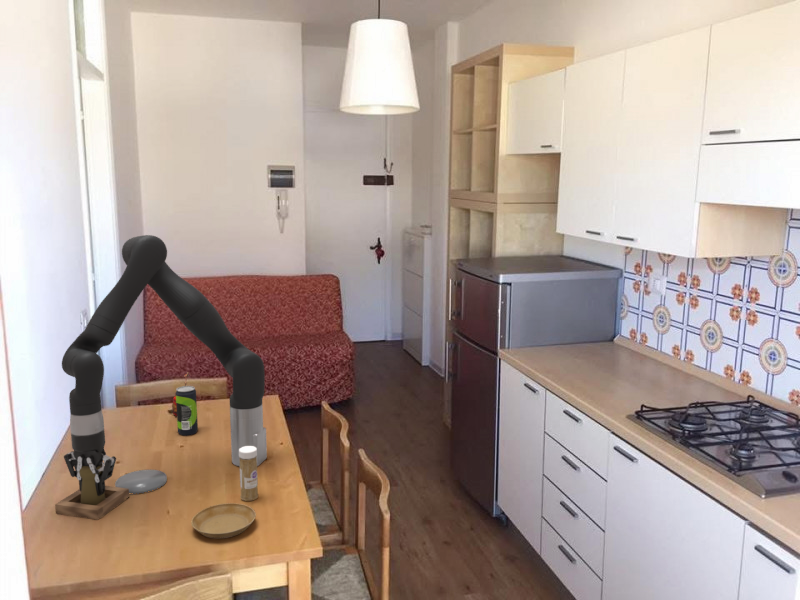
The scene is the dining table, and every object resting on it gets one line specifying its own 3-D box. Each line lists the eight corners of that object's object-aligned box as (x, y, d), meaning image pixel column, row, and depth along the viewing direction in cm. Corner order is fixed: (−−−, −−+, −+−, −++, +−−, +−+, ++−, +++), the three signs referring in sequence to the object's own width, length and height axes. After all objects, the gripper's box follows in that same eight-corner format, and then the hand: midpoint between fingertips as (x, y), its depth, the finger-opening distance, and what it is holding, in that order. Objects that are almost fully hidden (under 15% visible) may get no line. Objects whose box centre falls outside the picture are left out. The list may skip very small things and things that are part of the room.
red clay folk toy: (169, 413, 235) (166, 372, 232) (188, 409, 240) (186, 369, 237) (178, 419, 229) (175, 377, 227) (197, 415, 234) (195, 373, 231)
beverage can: (202, 431, 219) (199, 387, 216) (186, 437, 213) (184, 392, 211) (189, 428, 222) (186, 384, 219) (173, 433, 217) (171, 389, 214)
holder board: (129, 497, 173) (128, 488, 173) (97, 519, 162) (97, 510, 161) (89, 491, 176) (88, 483, 176) (55, 513, 165) (55, 504, 164)
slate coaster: (176, 475, 186) (176, 472, 186) (147, 496, 174) (147, 493, 173) (135, 470, 189) (135, 467, 189) (104, 490, 177) (104, 487, 176)
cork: (96, 512, 165) (93, 470, 163) (74, 509, 167) (71, 468, 165) (111, 500, 171) (108, 460, 169) (90, 498, 172) (87, 458, 170)
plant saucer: (178, 537, 155) (177, 526, 154) (216, 508, 168) (216, 498, 168) (233, 549, 150) (232, 538, 149) (267, 518, 163) (267, 508, 163)
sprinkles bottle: (252, 502, 171) (251, 453, 168) (237, 500, 172) (235, 450, 170) (261, 494, 175) (260, 446, 173) (246, 492, 176) (244, 444, 174)
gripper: (122, 426, 167) (126, 490, 170) (73, 420, 171) (79, 483, 174) (102, 437, 160) (107, 503, 163) (52, 431, 163) (57, 496, 166)
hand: (92, 493), depth 168 cm, fingers closed on cork, 3 cm apart
